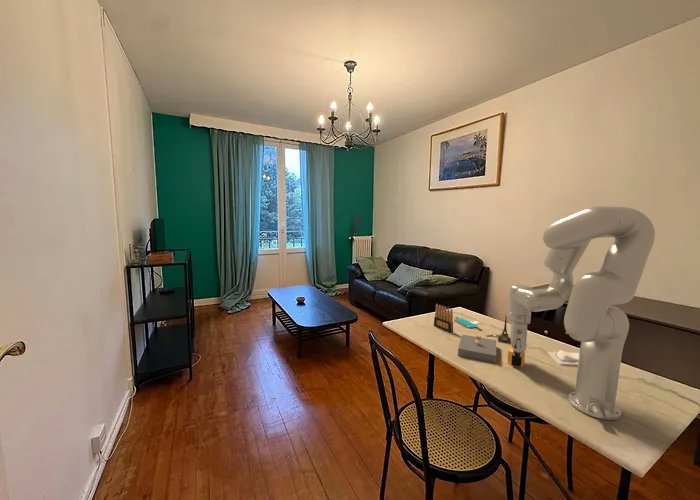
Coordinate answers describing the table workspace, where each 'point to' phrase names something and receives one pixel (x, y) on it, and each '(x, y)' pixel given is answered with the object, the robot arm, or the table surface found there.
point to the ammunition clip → (444, 318)
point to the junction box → (477, 348)
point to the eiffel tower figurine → (503, 336)
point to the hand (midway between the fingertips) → (515, 361)
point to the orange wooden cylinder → (510, 353)
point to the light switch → (565, 358)
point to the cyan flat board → (467, 323)
